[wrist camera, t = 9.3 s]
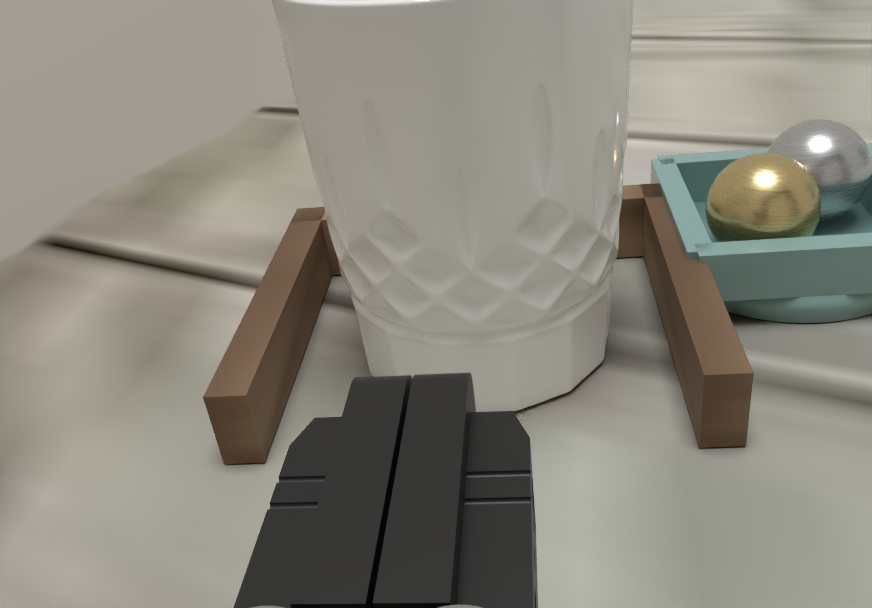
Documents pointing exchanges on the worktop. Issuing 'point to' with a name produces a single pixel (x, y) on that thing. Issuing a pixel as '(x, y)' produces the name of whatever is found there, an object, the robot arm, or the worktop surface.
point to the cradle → (316, 263)
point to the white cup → (470, 179)
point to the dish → (772, 251)
